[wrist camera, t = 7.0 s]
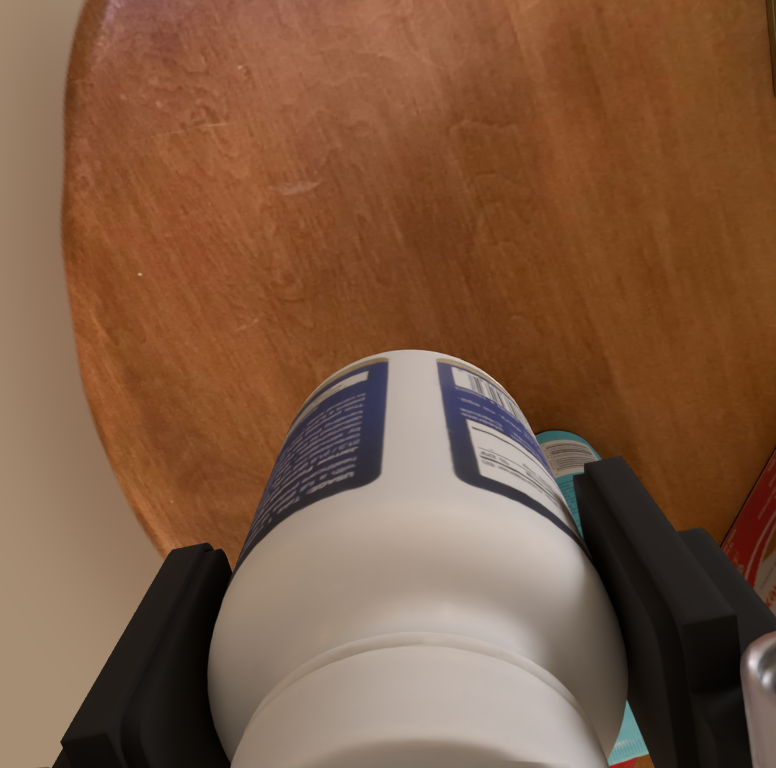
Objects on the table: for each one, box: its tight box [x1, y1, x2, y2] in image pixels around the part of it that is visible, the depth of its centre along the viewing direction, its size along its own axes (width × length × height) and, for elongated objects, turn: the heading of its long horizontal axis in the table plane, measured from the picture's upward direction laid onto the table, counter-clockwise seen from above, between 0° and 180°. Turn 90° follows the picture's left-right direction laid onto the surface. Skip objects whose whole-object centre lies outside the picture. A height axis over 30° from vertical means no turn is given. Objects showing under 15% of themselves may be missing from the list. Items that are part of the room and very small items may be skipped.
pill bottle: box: [207, 350, 628, 768], centre depth 11 cm, size 5×5×10 cm
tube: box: [535, 431, 649, 766], centre depth 31 cm, size 7×5×19 cm, turn 119°
